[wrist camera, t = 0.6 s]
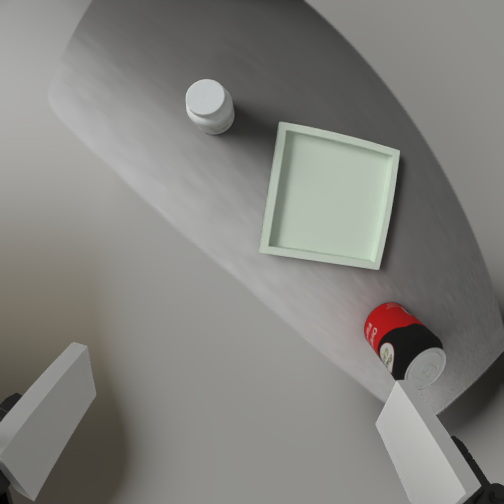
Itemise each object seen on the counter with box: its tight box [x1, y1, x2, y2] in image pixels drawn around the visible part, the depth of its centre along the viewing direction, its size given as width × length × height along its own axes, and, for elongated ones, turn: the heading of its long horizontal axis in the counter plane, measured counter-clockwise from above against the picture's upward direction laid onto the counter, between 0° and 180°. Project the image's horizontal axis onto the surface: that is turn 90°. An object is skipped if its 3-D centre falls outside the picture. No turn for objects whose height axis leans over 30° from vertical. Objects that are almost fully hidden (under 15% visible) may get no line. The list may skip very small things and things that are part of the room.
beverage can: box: [364, 303, 446, 390], centre depth 30 cm, size 6×6×12 cm
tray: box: [259, 122, 400, 270], centre depth 31 cm, size 14×14×2 cm
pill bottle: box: [186, 79, 235, 135], centre depth 26 cm, size 4×4×8 cm
